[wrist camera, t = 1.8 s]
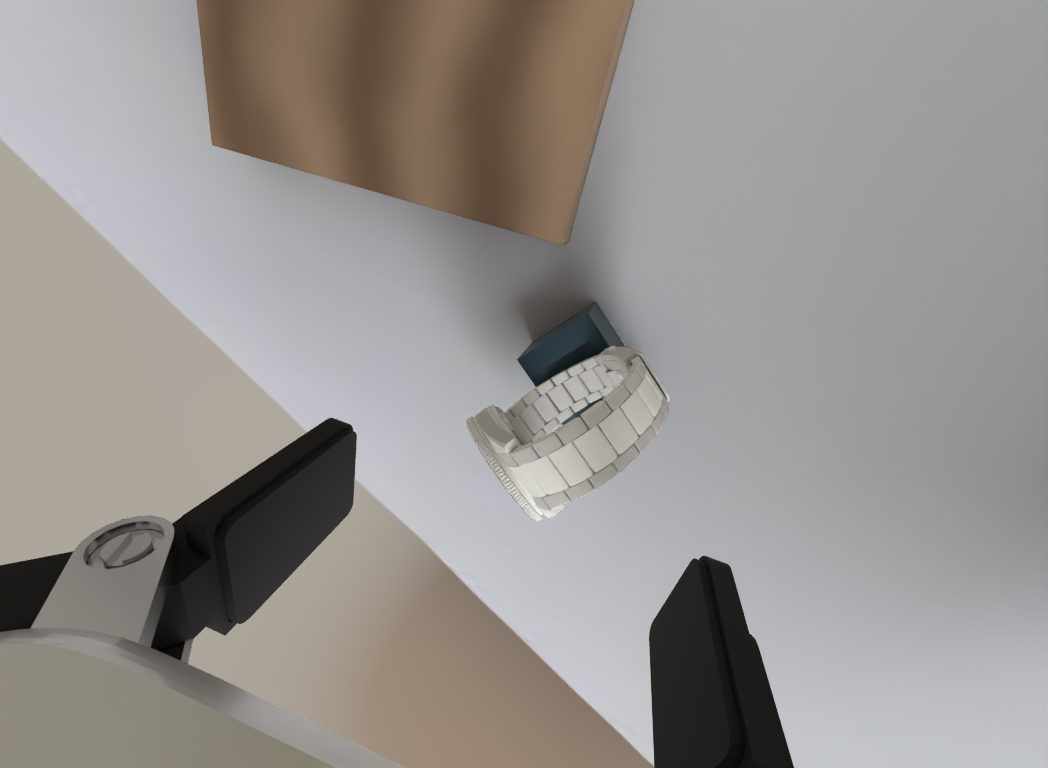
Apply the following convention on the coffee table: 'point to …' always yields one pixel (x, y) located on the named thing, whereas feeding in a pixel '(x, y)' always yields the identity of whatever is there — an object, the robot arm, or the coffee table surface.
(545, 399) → the watch
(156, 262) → the coffee table surface
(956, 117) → the coffee table surface
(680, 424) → the coffee table surface
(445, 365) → the coffee table surface
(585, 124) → the walnut board
